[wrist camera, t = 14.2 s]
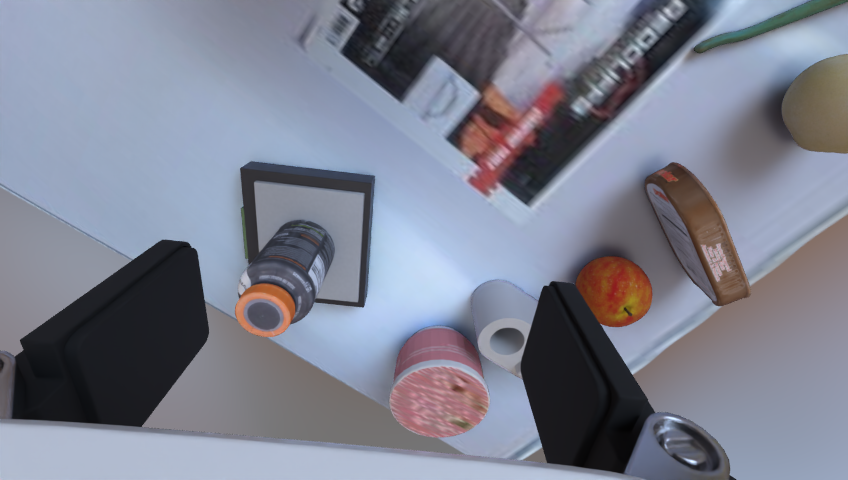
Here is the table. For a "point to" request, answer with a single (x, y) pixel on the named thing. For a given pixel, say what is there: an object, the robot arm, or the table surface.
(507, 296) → the grey hollow cylinder
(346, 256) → the scale
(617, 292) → the fruit
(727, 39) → the pliers
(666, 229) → the tin
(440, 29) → the table surface
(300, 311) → the pill bottle
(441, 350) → the container
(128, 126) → the table surface
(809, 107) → the potato
